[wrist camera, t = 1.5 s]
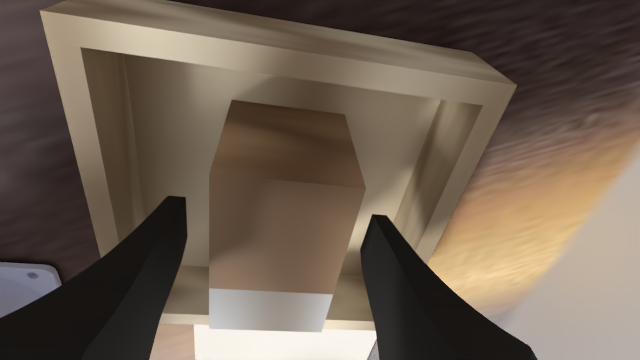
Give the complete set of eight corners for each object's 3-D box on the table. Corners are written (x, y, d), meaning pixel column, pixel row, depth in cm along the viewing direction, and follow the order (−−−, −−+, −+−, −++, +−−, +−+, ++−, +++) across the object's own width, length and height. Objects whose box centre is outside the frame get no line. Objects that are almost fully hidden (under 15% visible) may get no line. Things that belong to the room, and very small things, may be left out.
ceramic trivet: (198, 386, 28) (196, 394, 28) (194, 286, 21) (192, 295, 21) (349, 387, 30) (350, 394, 29) (390, 296, 23) (392, 304, 23)
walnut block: (226, 237, 18) (209, 328, 14) (231, 99, 14) (209, 173, 10) (314, 244, 19) (321, 332, 15) (344, 114, 15) (365, 188, 11)
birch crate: (140, 264, 20) (116, 321, 17) (97, -12, 12) (39, 10, 9) (379, 278, 22) (393, 331, 19) (471, 52, 14) (517, 85, 11)
